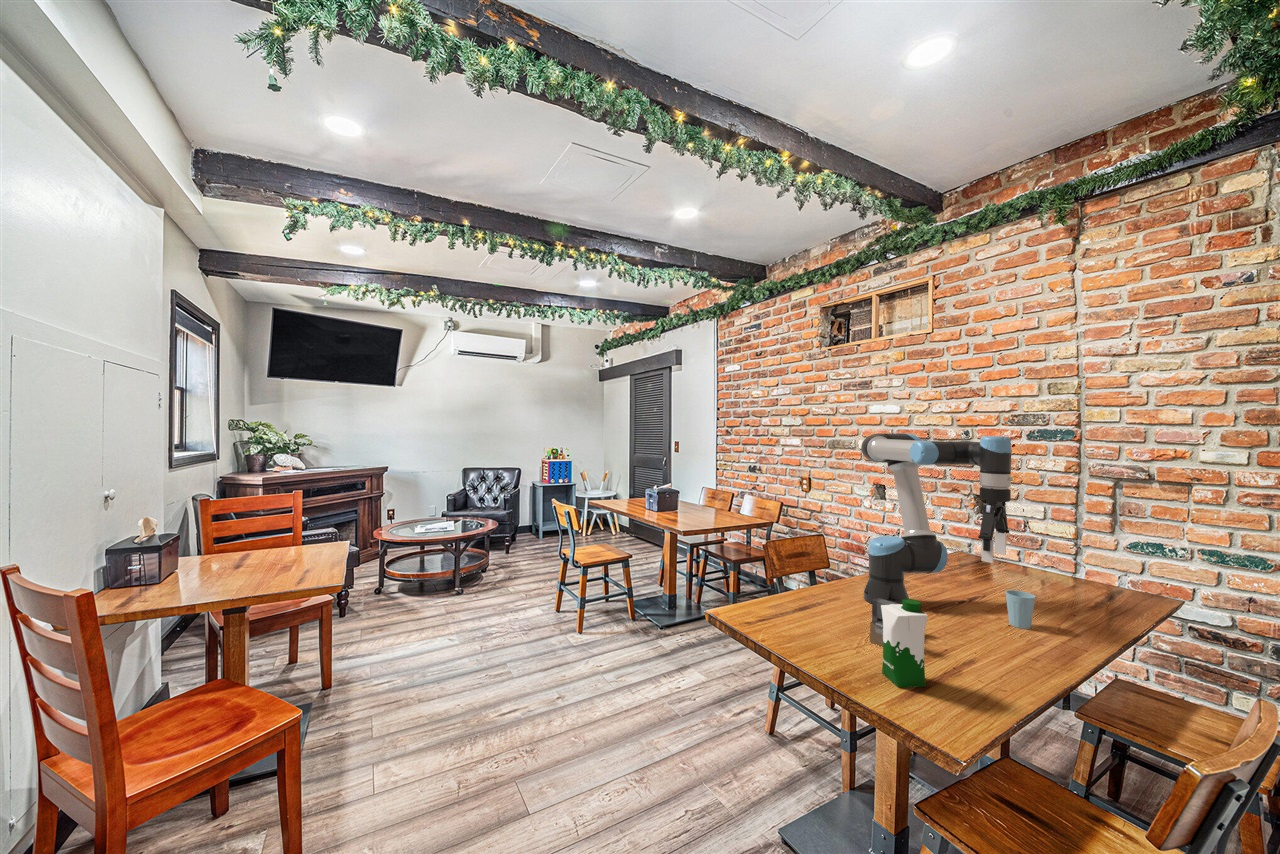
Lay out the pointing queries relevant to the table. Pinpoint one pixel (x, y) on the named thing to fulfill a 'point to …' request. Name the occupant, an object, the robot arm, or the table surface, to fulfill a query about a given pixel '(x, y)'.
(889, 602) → the collar
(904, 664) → the milk carton
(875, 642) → the rail
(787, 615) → the table surface
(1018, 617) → the cup
